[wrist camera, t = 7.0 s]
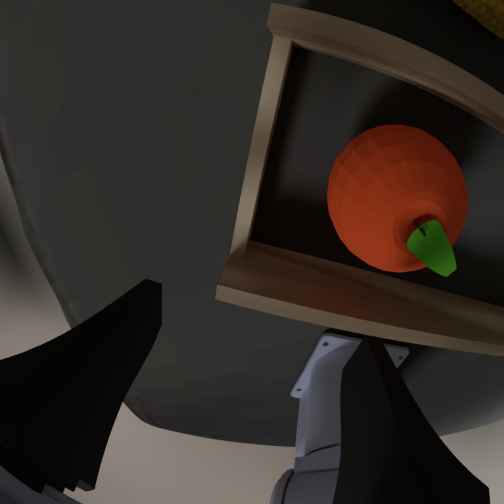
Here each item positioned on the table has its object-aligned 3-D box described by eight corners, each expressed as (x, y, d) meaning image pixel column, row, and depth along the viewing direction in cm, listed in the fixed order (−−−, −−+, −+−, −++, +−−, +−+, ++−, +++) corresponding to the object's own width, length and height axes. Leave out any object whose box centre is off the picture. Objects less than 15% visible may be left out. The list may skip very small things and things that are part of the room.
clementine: (462, 193, 15) (522, 252, 9) (384, 260, 18) (410, 341, 12) (383, 91, 13) (436, 97, 7) (297, 174, 17) (292, 232, 11)
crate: (516, 320, 19) (536, 359, 15) (235, 250, 20) (215, 299, 16) (585, 189, 11) (620, 216, 7) (281, 27, 12) (271, 3, 8)
